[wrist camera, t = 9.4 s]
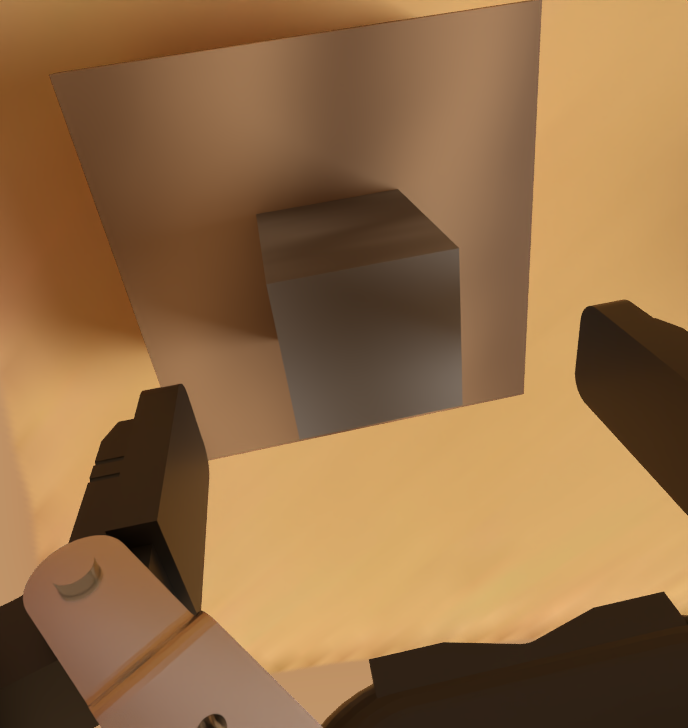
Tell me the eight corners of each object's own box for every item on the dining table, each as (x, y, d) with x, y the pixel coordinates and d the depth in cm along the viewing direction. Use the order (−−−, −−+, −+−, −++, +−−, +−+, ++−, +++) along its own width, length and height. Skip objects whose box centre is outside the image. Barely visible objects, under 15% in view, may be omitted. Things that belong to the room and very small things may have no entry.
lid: (527, 0, 15) (675, -12, 10) (514, 382, 21) (600, 490, 16) (57, 72, 14) (-36, 97, 9) (189, 449, 20) (177, 586, 15)
